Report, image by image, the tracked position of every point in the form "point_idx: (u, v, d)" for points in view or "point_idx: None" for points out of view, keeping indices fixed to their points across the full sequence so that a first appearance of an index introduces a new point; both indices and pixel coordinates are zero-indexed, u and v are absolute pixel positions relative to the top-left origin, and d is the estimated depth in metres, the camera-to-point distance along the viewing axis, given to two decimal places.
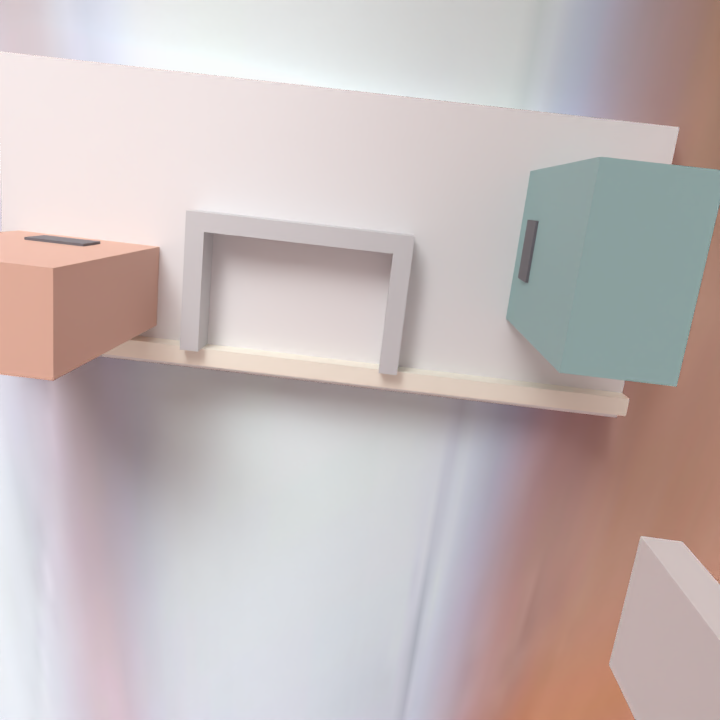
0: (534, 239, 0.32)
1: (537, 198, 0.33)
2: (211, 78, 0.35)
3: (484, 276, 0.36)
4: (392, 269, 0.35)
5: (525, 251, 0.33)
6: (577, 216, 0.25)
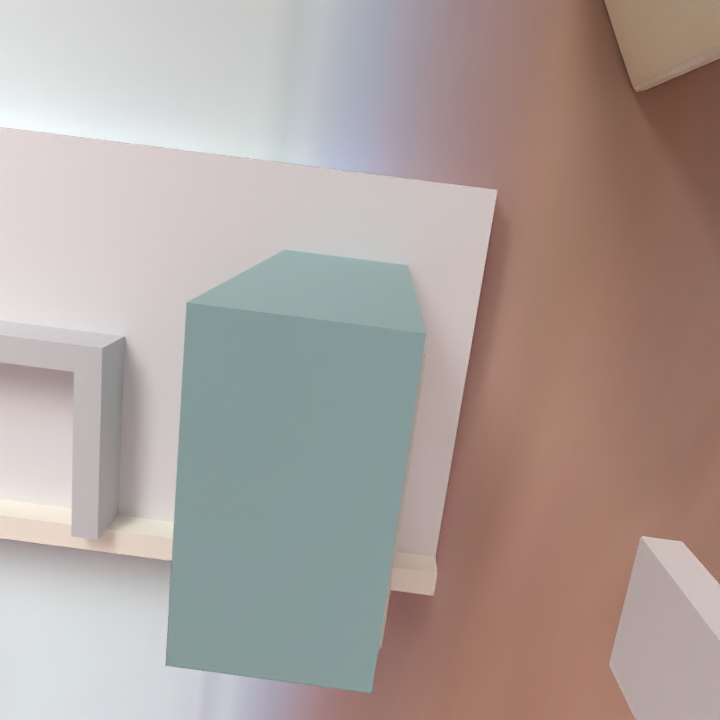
0: None
1: None
2: None
3: None
4: (75, 394, 0.23)
5: None
6: None
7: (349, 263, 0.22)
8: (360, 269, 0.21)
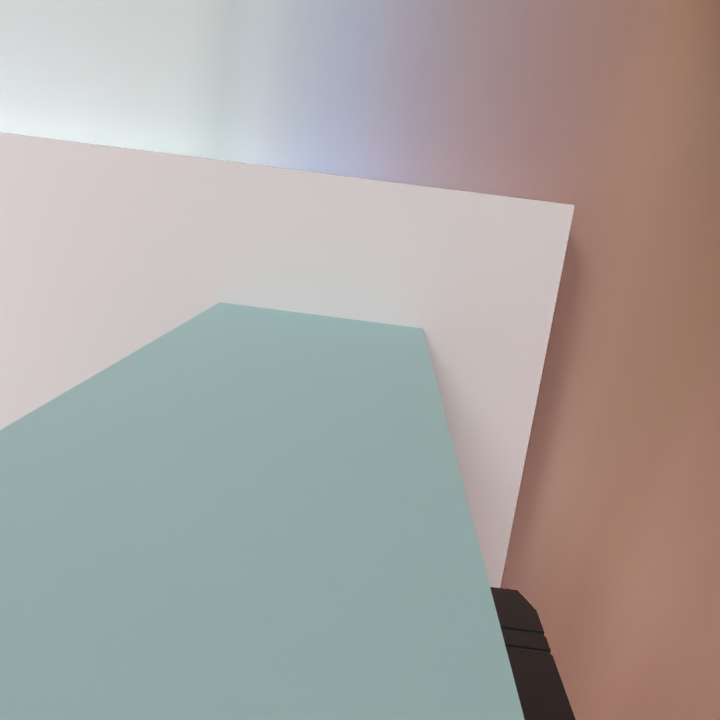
0: None
1: None
2: None
3: None
4: None
5: None
6: None
7: (322, 332, 0.13)
8: (339, 350, 0.11)
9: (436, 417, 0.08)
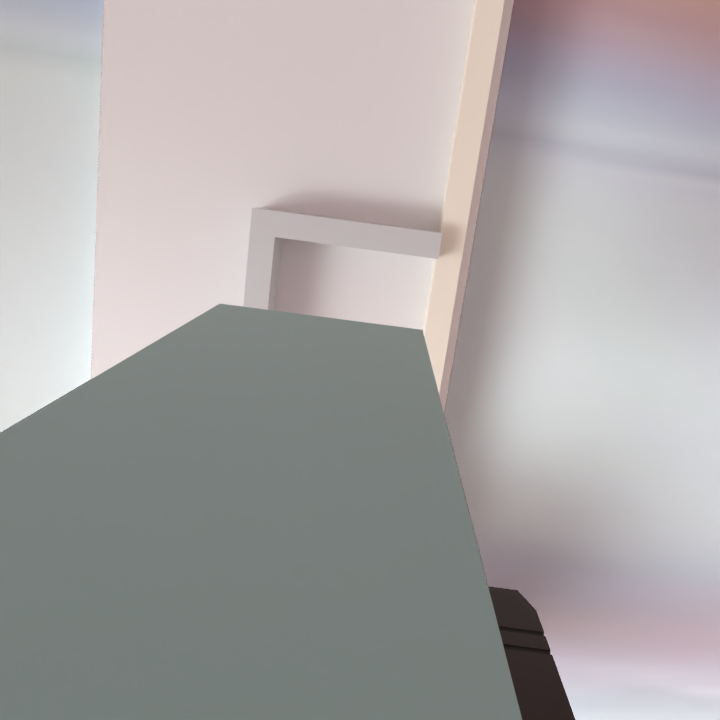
0: None
1: None
2: None
3: (315, 107, 0.27)
4: (295, 238, 0.26)
5: None
6: None
7: (322, 334, 0.13)
8: (339, 352, 0.11)
9: (436, 419, 0.08)
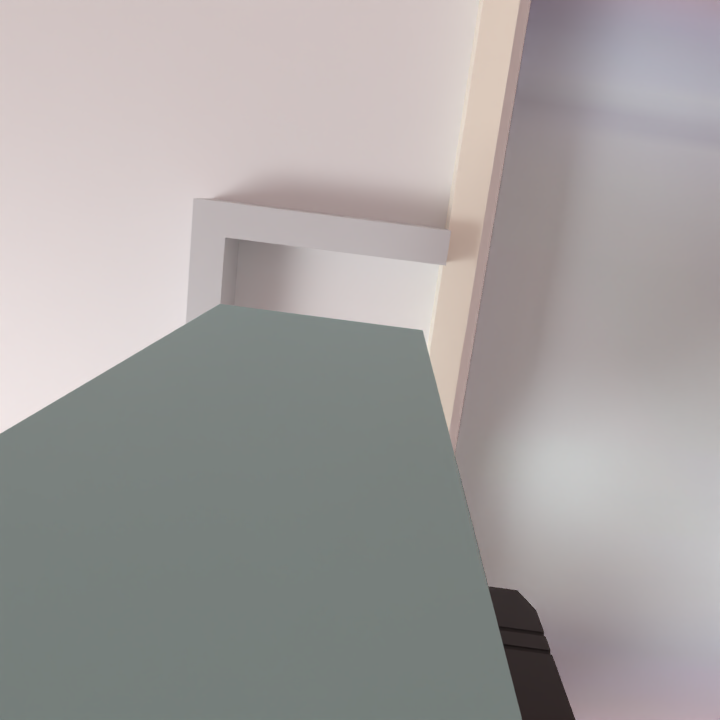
0: None
1: None
2: None
3: (280, 64, 0.20)
4: (253, 238, 0.19)
5: None
6: None
7: (322, 334, 0.13)
8: (339, 352, 0.11)
9: (436, 420, 0.08)
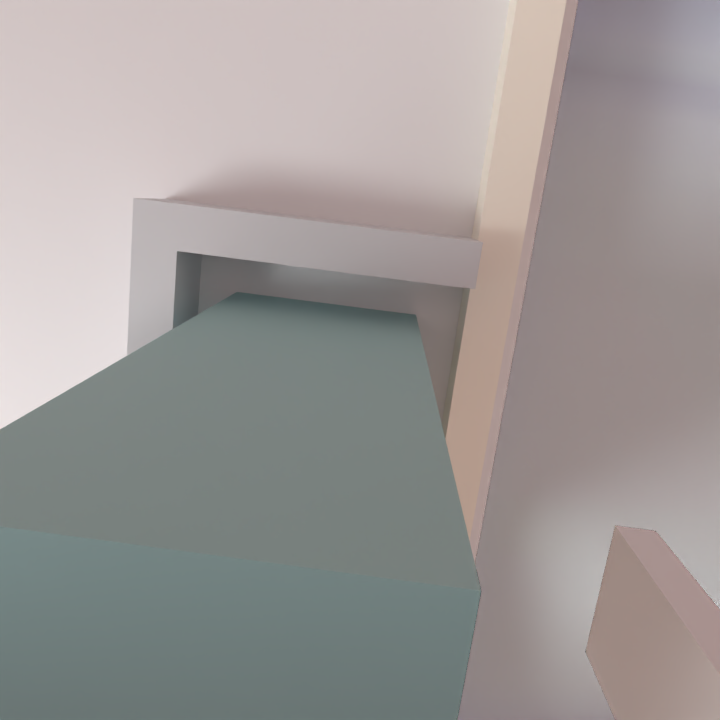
0: None
1: None
2: None
3: (253, 19, 0.15)
4: (214, 252, 0.14)
5: None
6: None
7: (328, 316, 0.15)
8: (343, 330, 0.13)
9: (423, 378, 0.10)
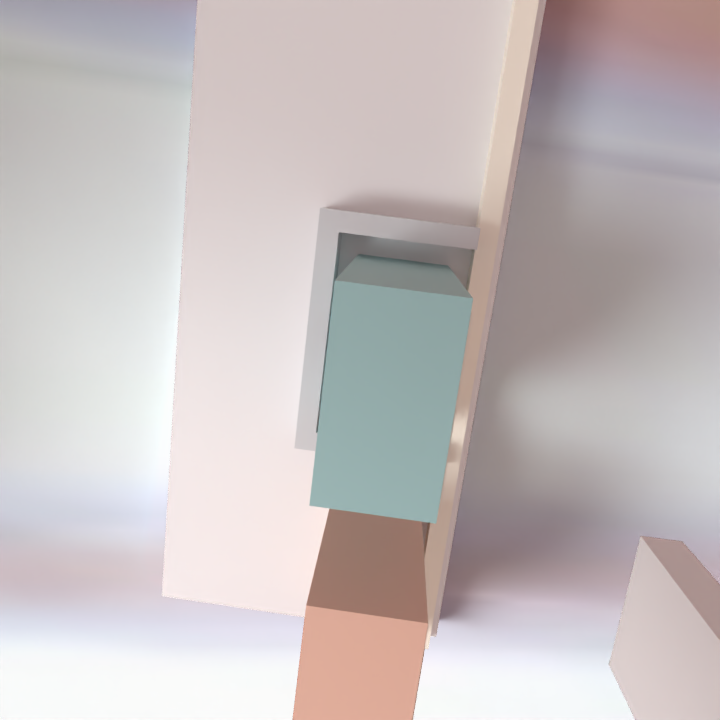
0: None
1: None
2: (176, 410, 0.35)
3: (372, 123, 0.32)
4: (356, 232, 0.31)
5: None
6: None
7: (408, 263, 0.31)
8: (417, 267, 0.30)
9: (455, 278, 0.27)
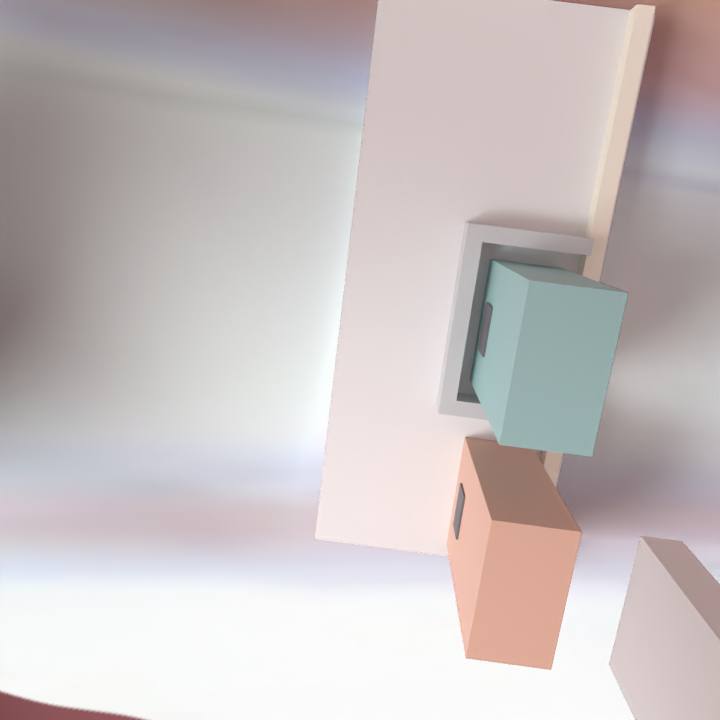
0: (489, 322, 0.38)
1: (493, 286, 0.39)
2: (335, 385, 0.44)
3: (505, 156, 0.40)
4: (496, 242, 0.39)
5: (483, 329, 0.40)
6: (514, 319, 0.32)
7: (535, 266, 0.40)
8: (547, 269, 0.38)
9: (588, 278, 0.35)
